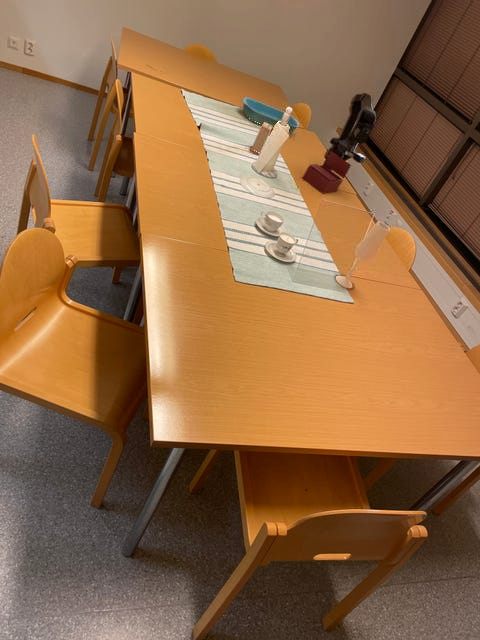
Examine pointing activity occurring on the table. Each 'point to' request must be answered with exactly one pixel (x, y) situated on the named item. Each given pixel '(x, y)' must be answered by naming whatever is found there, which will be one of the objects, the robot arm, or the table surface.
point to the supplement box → (261, 137)
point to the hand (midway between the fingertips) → (338, 165)
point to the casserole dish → (265, 114)
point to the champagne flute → (366, 249)
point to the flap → (337, 164)
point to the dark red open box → (322, 178)
